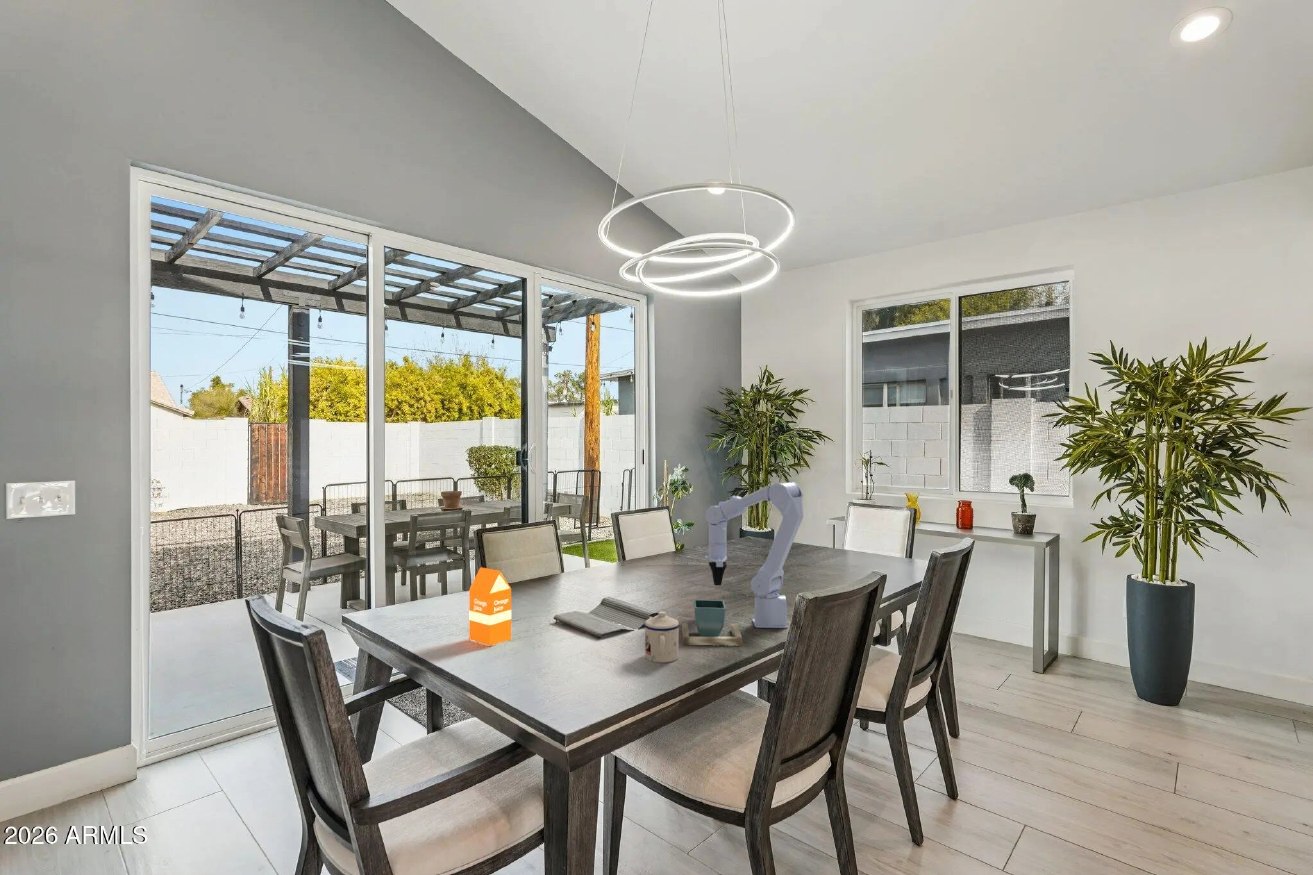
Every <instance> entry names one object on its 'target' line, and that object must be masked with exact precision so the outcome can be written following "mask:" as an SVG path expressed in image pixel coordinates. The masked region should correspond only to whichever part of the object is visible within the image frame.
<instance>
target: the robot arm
mask: <svg viewBox="0 0 1313 875" xmlns="http://www.w3.org/2000/svg"><path fill="white" fill-rule="evenodd" d="M803 497H804V494H803V491H802V489H801V487H800V485H798V483H796V482H793V481H787V482H782V483H781V482H780V483H779V482H778V483H776V482H775V483H773V484H771V485H766V486H763V487H761V488H760V489H756V490H755V491H754V492H752V493H749V494H747V495H746V496H744V497H742V496H739V495H732V496H729V499H727V500H726V501H719V502H718V504H717V505H710V506H709V507H708V508H707V509H706V511H705V514H704V517H705V520H706V521H707V522H708V555H705V556H704V558H705V560H709V561H708V566H709V568H710V570H711V573H712V574H711V576H712V582H713V585H714V586H722V584H723V583H722V582H723V578H724V573H725V571H726V569H727V566H728V565H727V559H728V556H727V547H728V546H727V537H728V536H727V526H728V521H729V520H731V519H734V518H735V517H738V516H740V515H742V514H745V513H746V511H747V509H748V508H749V507H751V506H753V505H756V504H760V503H762V502H764V501H767V502H771V503H772V504H773V506H775V508H776V509H778V511H779V512H780V514H781V516H782V519H781V522H780V524H779V527H778V530H777V532H776V533H775V534H776V535H775V537H774V539H773V542H772V545H771V547H770V549H769V552H768V554H767V555H768V556H767V557H766V559H765V562H764V564H762V566H761V567H760V568H759V569H758V570H757V574H755V576H753V577H752V579H751V581H750V588H751V591H752V592H753V594H754V618H752V619H751V621H752V623H753V626H754V627H755V628H757V629H764V628H765V629H786V628H788V606H787V604H788V603H787V599H786V598H787V596H786V595H784V594H783V595H780V590H781V589H782V587H783V584H784V578H783V577H784V574H785V571H784V570H783V567H784V565H785V563H786V560H787V558H788V555H789V553H790V550H791V548H792V545H793V543H794V540H795V539H796V535H797V533H798V531H799V528H800V526H801V523H802V520H803V517H804V512H803V510H804V509H803Z"/></svg>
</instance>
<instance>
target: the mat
mask: <svg viewBox="0 0 1313 875" xmlns="http://www.w3.org/2000/svg"><path fill="white" fill-rule="evenodd" d="M658 613H659V612H658V611H656V610H652V609H648V608H646V607H643V606H641V605H640V606H639V605H637V604H634V603H630V602H628V601H624V600H621V599H618V598H615V597H612V596H606V597H603V598H602V599H601V601H600V602H599V604H598V605H596V606H595V608H593V609H592V610H591V611H589V612H583V611H576V610H575V611H574V610H573V611H569V612H564V613H563V612H562V613H559V614H555V615H554V616H553V620H555V623H556V624H558V622H560V623H563V624H565V625H567V626H570V627H571V628H575V629H577V630H579V631H581V632H583V633H586V634H589V635H591V636H593V637H595V638H597V640H599V639H601V637H602V636H605V635H609V634H613V633H615V632H619V631H631V632H634V631H635V630H636V629H638V630H640V629H641V628H642V627H643V626H644V624H645V621H646V620H648V619H650V617H651V618H653V617H655V616H657V615H658ZM613 622H614V623H613ZM618 624H621V625H618ZM632 628H633V629H632Z"/></svg>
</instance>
